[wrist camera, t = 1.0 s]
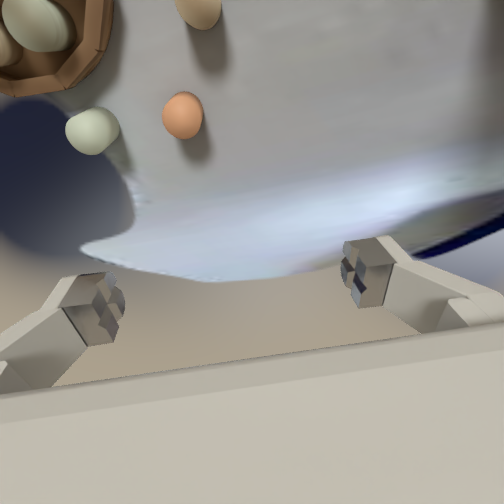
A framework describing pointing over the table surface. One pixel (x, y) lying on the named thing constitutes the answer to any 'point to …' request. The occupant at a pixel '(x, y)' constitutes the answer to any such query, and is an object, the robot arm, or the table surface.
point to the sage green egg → (92, 130)
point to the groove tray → (63, 63)
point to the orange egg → (183, 115)
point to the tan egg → (199, 12)
